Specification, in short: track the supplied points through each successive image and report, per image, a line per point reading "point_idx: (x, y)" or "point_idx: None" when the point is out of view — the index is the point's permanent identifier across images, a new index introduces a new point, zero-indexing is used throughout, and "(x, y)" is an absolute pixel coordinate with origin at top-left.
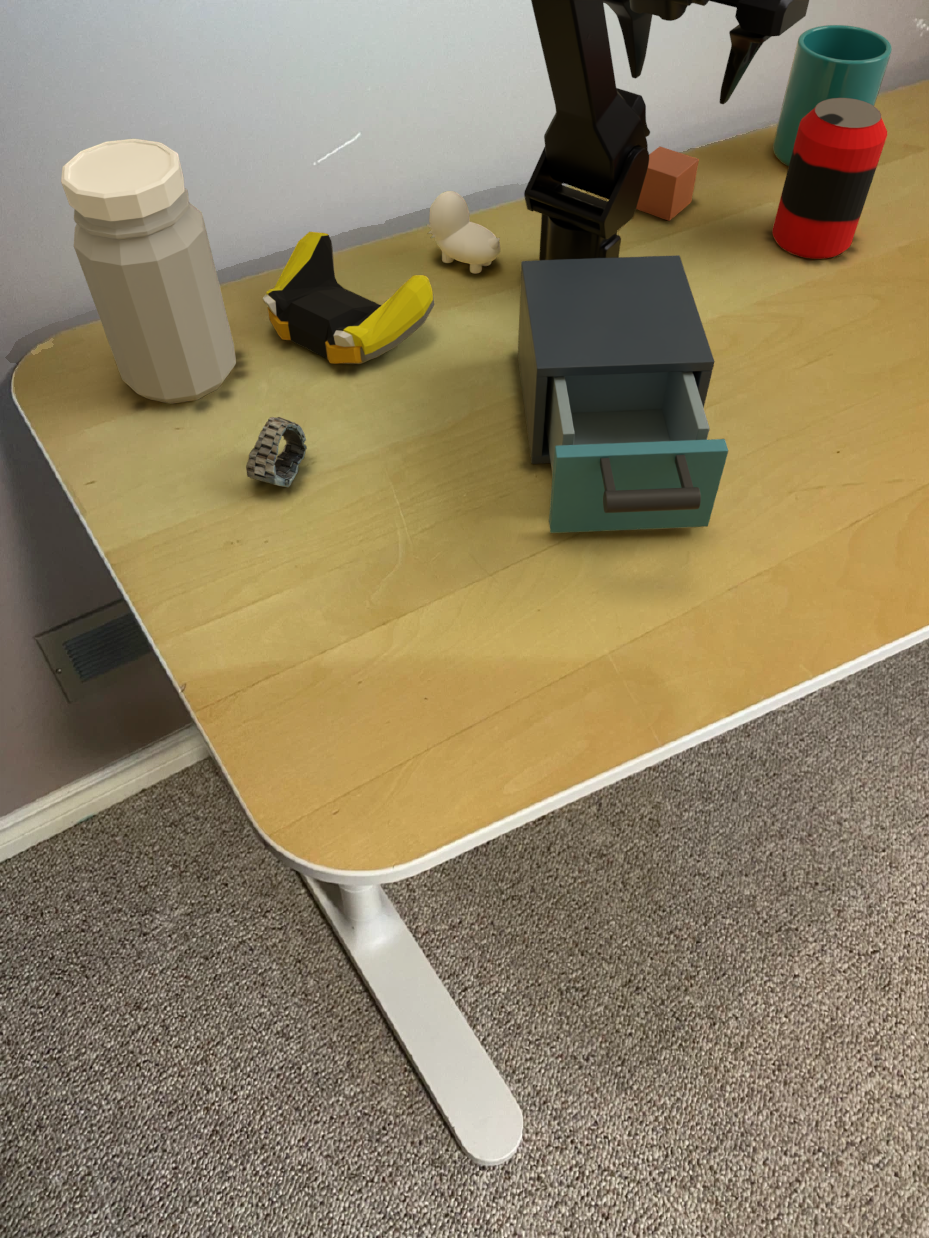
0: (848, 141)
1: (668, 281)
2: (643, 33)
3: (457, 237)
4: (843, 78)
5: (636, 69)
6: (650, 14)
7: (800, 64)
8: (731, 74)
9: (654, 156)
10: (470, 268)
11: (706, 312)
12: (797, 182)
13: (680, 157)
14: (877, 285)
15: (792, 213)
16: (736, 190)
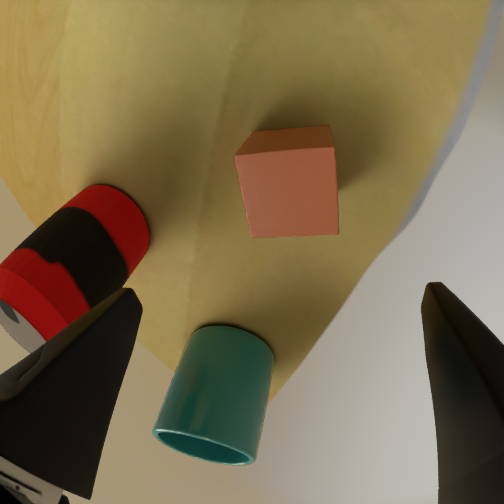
0: None
1: None
2: (452, 419)
3: None
4: (167, 414)
5: (434, 304)
6: (444, 476)
7: (225, 426)
8: (58, 339)
9: (323, 195)
10: None
11: (75, 20)
12: (56, 232)
13: (280, 222)
14: (39, 200)
15: (77, 207)
16: (241, 262)
